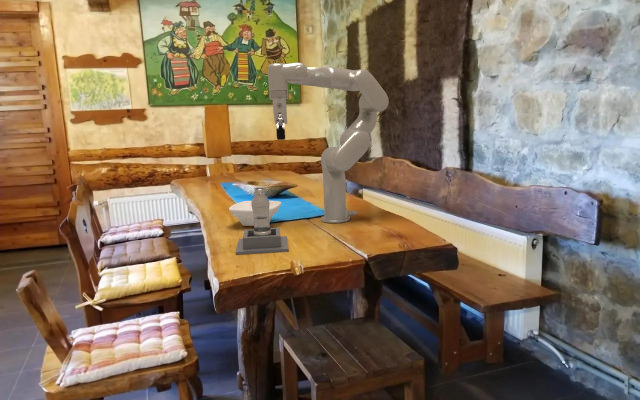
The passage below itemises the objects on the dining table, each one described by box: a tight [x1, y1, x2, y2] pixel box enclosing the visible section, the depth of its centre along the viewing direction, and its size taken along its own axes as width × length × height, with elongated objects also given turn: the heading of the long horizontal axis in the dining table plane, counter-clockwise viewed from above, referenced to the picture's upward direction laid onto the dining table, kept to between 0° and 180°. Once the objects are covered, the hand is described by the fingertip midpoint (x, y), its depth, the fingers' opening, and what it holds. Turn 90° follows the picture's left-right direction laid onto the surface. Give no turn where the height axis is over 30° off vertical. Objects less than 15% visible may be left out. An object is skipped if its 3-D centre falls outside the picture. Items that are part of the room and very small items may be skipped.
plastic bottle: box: [251, 187, 272, 237], centre depth 170 cm, size 6×7×20 cm
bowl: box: [228, 200, 282, 227], centre depth 204 cm, size 21×21×9 cm
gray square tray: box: [235, 227, 290, 256], centre depth 171 cm, size 18×17×5 cm
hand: (280, 139), depth 193 cm, fingers open, 9 cm apart
